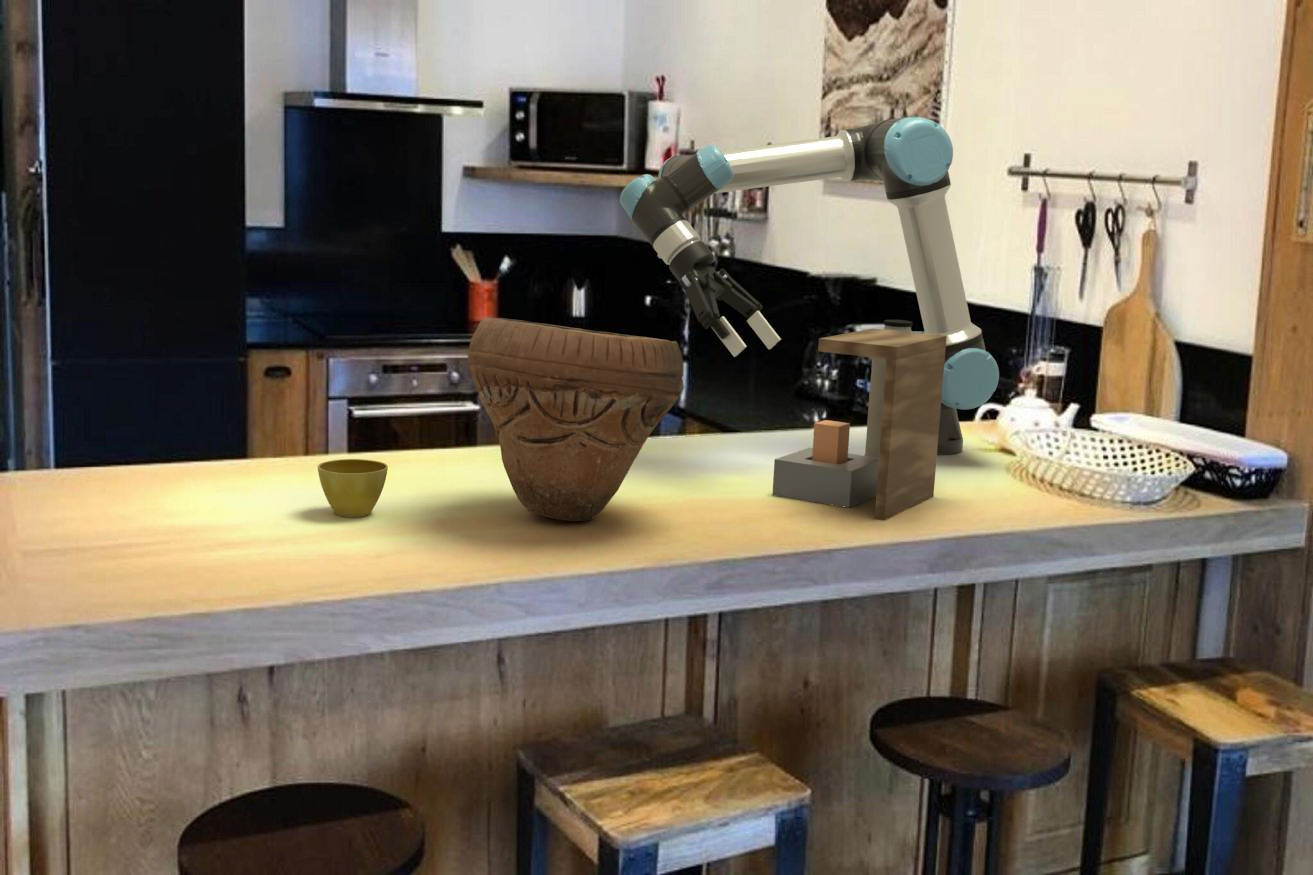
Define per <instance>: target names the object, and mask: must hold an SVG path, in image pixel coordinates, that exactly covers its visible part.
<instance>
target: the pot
mask: <svg viewBox="0 0 1313 875" xmlns="http://www.w3.org/2000/svg"><path fill="white" fill-rule="evenodd" d="M474 331H475V332H474V333H473V335H472V336H471V339H470V341H469V347H468V348H469V349H468V354H467V358H468V359H467V360H468V363H469V367H468V368H469V371H470V376H471V377H472V380H473V382H474V385H475V387H476V390H477V392H478V397H479V399H480V401H481V404H482V405H483V407H484V409H485V411H486V413H487V415H488V416H489V418H490V420H491V422H492V424H493V427H494V429H495V431H496V432H497V433H499V434H498V441H499V443H498V444H499V447H500V453H501V462H502V464H503V467H504V470H505V473H506V475H507V477H508V480H509V483H510V485H511V487H512V490H513V492H514V494H515V495H516V497H517V499H518V500H519V502H520V503H521V504H522V506H523V507H524V509H526V510H527V512H530V513H533V514H536V515H539V516H543V517H547V518H551V519H555V520H559V521H560V520H561V521H568V522H586V521H590V520H593V519H594V518H595V517H596V516H597V515H599V514H600V513H601V512H602V511H603V510H604V509H605V508H606V506H607V505H608V504H609V503H610V501H611V500H612V499H613V497H614V496H615V494H616V493H617V492H618V491H619V489H620V487H621V486H622V484H623V481H624V480H625V478H626V477H627V475H628V474H629V471H630V469H631V467H632V465H633V464H634V461H635V460H636V459H637V457H638V455H639V454H640V452H641V450H642V448H643V446H644V445H645V443H646V441H647V440H648V438H649V436H650V435H651V433H652V432H653V431H654V429H655V428H656V427H657V425H658V424H659V422H660V421H661V420H663V419H664V417H665V416H666V415H667V413H668V412H669V411H670V410H671V409H672V408H673V406H674V405H675V403H676V402H677V401H678V399H679V398H680V393H681V392H682V388H683V384H684V380H683V379H682V377H683V376H684V375H685V373H684V362H683V361H684V360H683V353H682V351H681V349H680V346H679V343H678V342H677V341H676V340H674V341H671V340H668V339H660V338H656V337H655V338H654V337H647V336H638V335H630V334H623V333H622V334H620V333H615V332H609V331H608V332H607V331H598V330H590V329H583V328H577V327H576V328H575V327H569V326H562V325H555V324H549V323H541V322H534V321H533V322H532V321H529V320H520V319H511V318H504V317H487V316H485V317H484V318H483V319H481V320H480V322H479V323H478V325H477V327H476V329H475V330H474Z"/></svg>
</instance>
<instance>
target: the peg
mask: <svg viewBox="0 0 1313 875" xmlns="http://www.w3.org/2000/svg"><path fill="white" fill-rule="evenodd" d="M813 423H814V424H813V426H814V427H813V441H812V448H813V452H812V460H813V461H820V462H826V463H833V464H839V465H840V464H843V463H845V462H847V459H848V453H849V444H850V443H849V442H850V430H851V429H850V428H851V423H850V422H843V421H836V420H835V421H834V420H829V419H824V420H821V421H818V422H813Z"/></svg>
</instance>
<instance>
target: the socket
mask: <svg viewBox="0 0 1313 875" xmlns="http://www.w3.org/2000/svg"><path fill="white" fill-rule="evenodd" d="M812 452H813V447H808V448H807V447H806V448H805V449H801V450H798V451H796V452H795V451H794V452H791V453H789V454H787V455H784V456H780V457H776V458H775V459H774V461H773V462H774V465H773V479H772V494H771V495H772V496H775V495H776V496H777V497H782V498H787V497H788V498H787V499H793V500H799V499H800V501H806V502H811V501H812V502H813V503H817V502H820V503H819V504H823V503H825V505H829V504H833V505H832V506H835V505H837V506H836V507H841V506H845V507H844V508H847V507H848V508H849V507H850V508H852V507H855V506H856V504H857V505H859V504H860V502H861V503H863V502H865V501H867V499H868V500H870V499H872V498H874V497H875V498H876V494H877V481H878V468H879V458H876V457H869V456H865V455H863V454H861V455H860V454H856V453H849V452H848V459H847V462H845V463H843V464H840V465H839V464H833V463H826V462H820V461H813V460H812ZM851 506H852V507H851Z"/></svg>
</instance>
